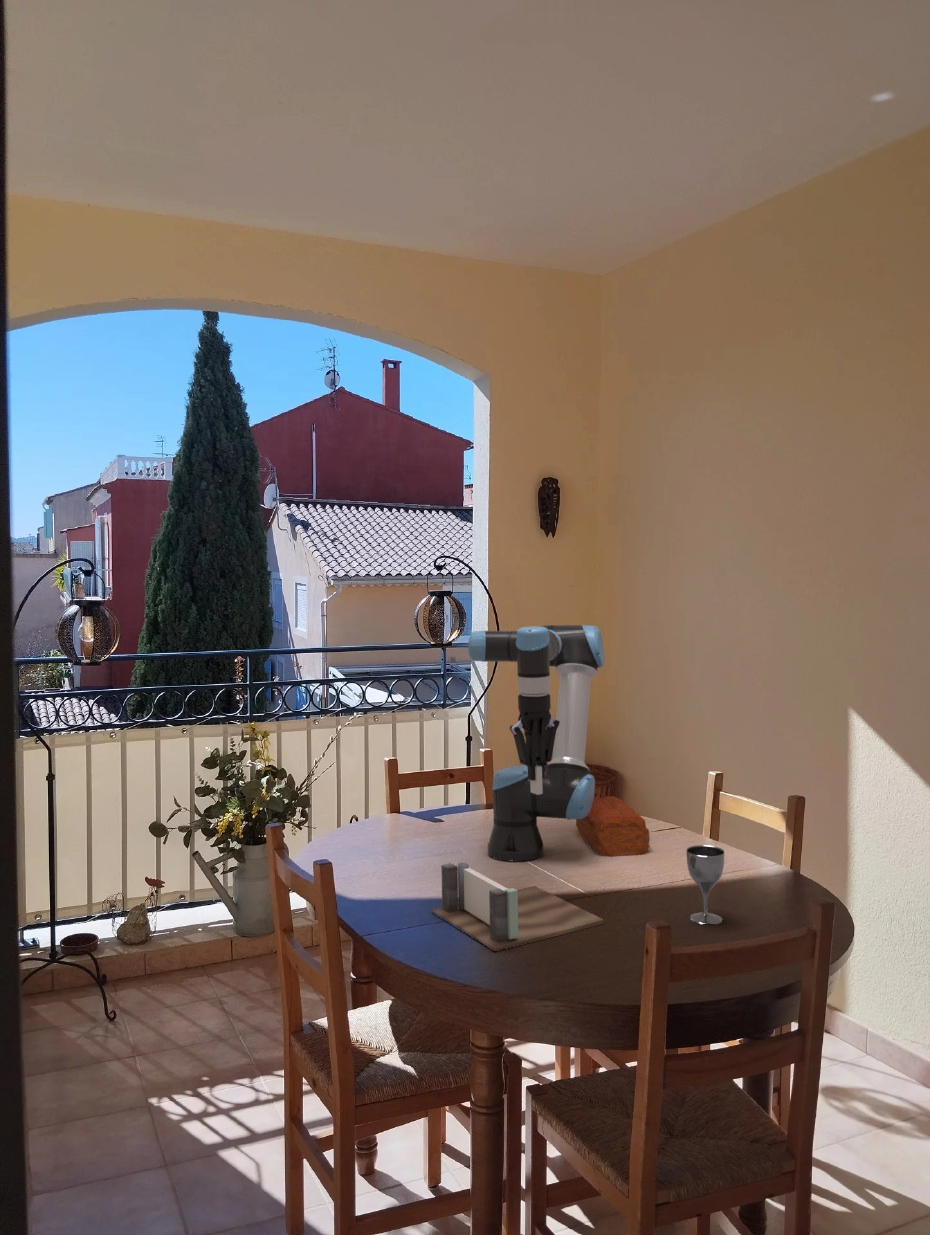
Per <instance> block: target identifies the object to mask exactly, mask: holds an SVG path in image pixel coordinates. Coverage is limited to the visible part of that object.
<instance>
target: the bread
mask: <svg viewBox="0 0 930 1235" xmlns="http://www.w3.org/2000/svg"><path fill="white" fill-rule="evenodd" d="M575 827H576V828H577V832H578V833H579V834H580V835H581V836H582V837H583V839H584V840H585V841H586V842H587V843H588V844H589V845H590V846H591V847H592V849H593V850H594V851H595V852H596V853H597V854H598V855H600V856H602V857H624V856H625V857H626V856H627V857H628V856H639V855H645V854H646V853H647V851H648V850H649V848H650V841H651V838H650V830H649V828H647V825H646V820H645V819H644V818H643V817H642V816H641V815H640V814H639V813H637V812H636V811H635V810H634V809H633V808H632V807H631V806H630V805H628V804H627V803H626V802H625V801H623V800H622V799H620V798H618V797H616V796H612V795H611V796H603V797H600V796H594V799H593V803H592V807H591V810H590V812H589V814H588V815H587V816H586V817H585V818H584V819H575Z"/></svg>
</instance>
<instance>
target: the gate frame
mask: <svg viewBox="0 0 930 1235" xmlns="http://www.w3.org/2000/svg"><path fill="white" fill-rule="evenodd" d="M440 867H441V898H442V899H441V905H442V906H441V907H437V908H433V909H431V912H432V911H434V912H435V913H437V915H439V916H441V917H442V918H444V919H445V920H447V921H448V922H450V923H451V924H453V925H455V926H456V927H457V928H459V929H461V930H462V931H463V932H465V933H467V934H469V935H470V936H472V937H473V938H475V939H476V940H478V941H479V942H481V943H483V944H484V945H486V946H487V947H489V948H490V949H492V950H493V951H498V952H500V951H499V950H502V949H506V950H509V949H508V948H510V949H512V948H511V947H513V948H517V947H520V946H519V945H521V946H524V945H528V944H527V943H529V944H531V943H535V942H539V941H544V940H547V939H551V938H554V937H557V936H561V935H566V934H569V933H573V932H577V931H580V930H581V931H582V930H585V929H588V928H592V927H596V926H599V925H603V924H605V919H603V918H601V917H599V916H597V915H595V914H593V913H591V912H589V911H588V910H586V909H583V908H581V907H579V906H577V905H574V904H573V903H571V902H568V901H567V900H564V899H562V898H560V897H558V896H557V895H554V894H552V893H550V892H548V891H546V890H544V889H542V888H539V887H538V886H535V885H534V886H528V887H525V888H521V889H517V890H518V938H514V939H509V938H508V920H507V892H505V891H503V890H501V889H500V888H498V889H494V890H489V905H490V925H489V924H487V923H486V922H484V921H483V920H481V919H479V918H478V917H476V916H475V915H473V914H471V913H470V912H468V911H467V910H465V911H462V910H459V895H458V865H455V864H453V863H451V862H450V863H445V864H441V866H440ZM457 928H456V929H457ZM463 932H462V933H463ZM465 933H464V934H465ZM476 940H475V941H476ZM479 942H478V943H479ZM484 945H483V946H484ZM516 946H517V947H516ZM487 947H486V948H487ZM490 949H489V950H490ZM493 951H492V952H493ZM502 951H503V950H502Z"/></svg>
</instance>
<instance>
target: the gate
mask: <svg viewBox="0 0 930 1235" xmlns="http://www.w3.org/2000/svg"><path fill="white" fill-rule="evenodd" d="M457 867H458V903H459V910H462V911H465V910H467V911H468V912H470V913H471V914H473V915H475V916H476V917H478V918H479V919H481V920H483V921H484V922H486V923H487V924H489V925H490V905H489V890H494V889H498V888H500V889H501V890H503V891H505V892H507V920H508V938H509V939H514V938H518V890H519V889H515V888H514V887H511V888H507V887H505V886H503V885H502V884H500V883H498V882H496V881H495V880H493V879H491V878H488V877H487V876H485V875H483V874H482V873H481V872H478V871H476V870H475V869H472V868H471V867H470V864H469V863H467V862H460V863H458V864H457Z"/></svg>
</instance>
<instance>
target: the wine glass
mask: <svg viewBox="0 0 930 1235" xmlns="http://www.w3.org/2000/svg"><path fill="white" fill-rule="evenodd" d="M686 864H687V869H688V873H689V876H690V878H691V879H692V880H693V882H694V883H695V884H696V885H697V886H698V888H699V889H700V890H701V891H700V892H701V893H702V900H703V912H694V913H692V914H689V916H690V917H688V919H689V918H690V919H689V920H690V921H691V922H693V923H694V924H697V925H699V924H700V925H703V924H715V925H719V924H721V923H723V921H722V920H723V918H722V916H721V915H718V914H716V913H712V912H709V911H708V902H709V894H710V891H711V890H712V889H713V887H714V886H715V885H716V884H717V883H718V882H719V881H720V880H721V878H722V876H723V873H724V868H725V851H724V849H722V848H720V847H717V846H714V845H707V844H704V845H703V844H700V845H693V846H692V845H691V846H689V847H687V848H686Z"/></svg>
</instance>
